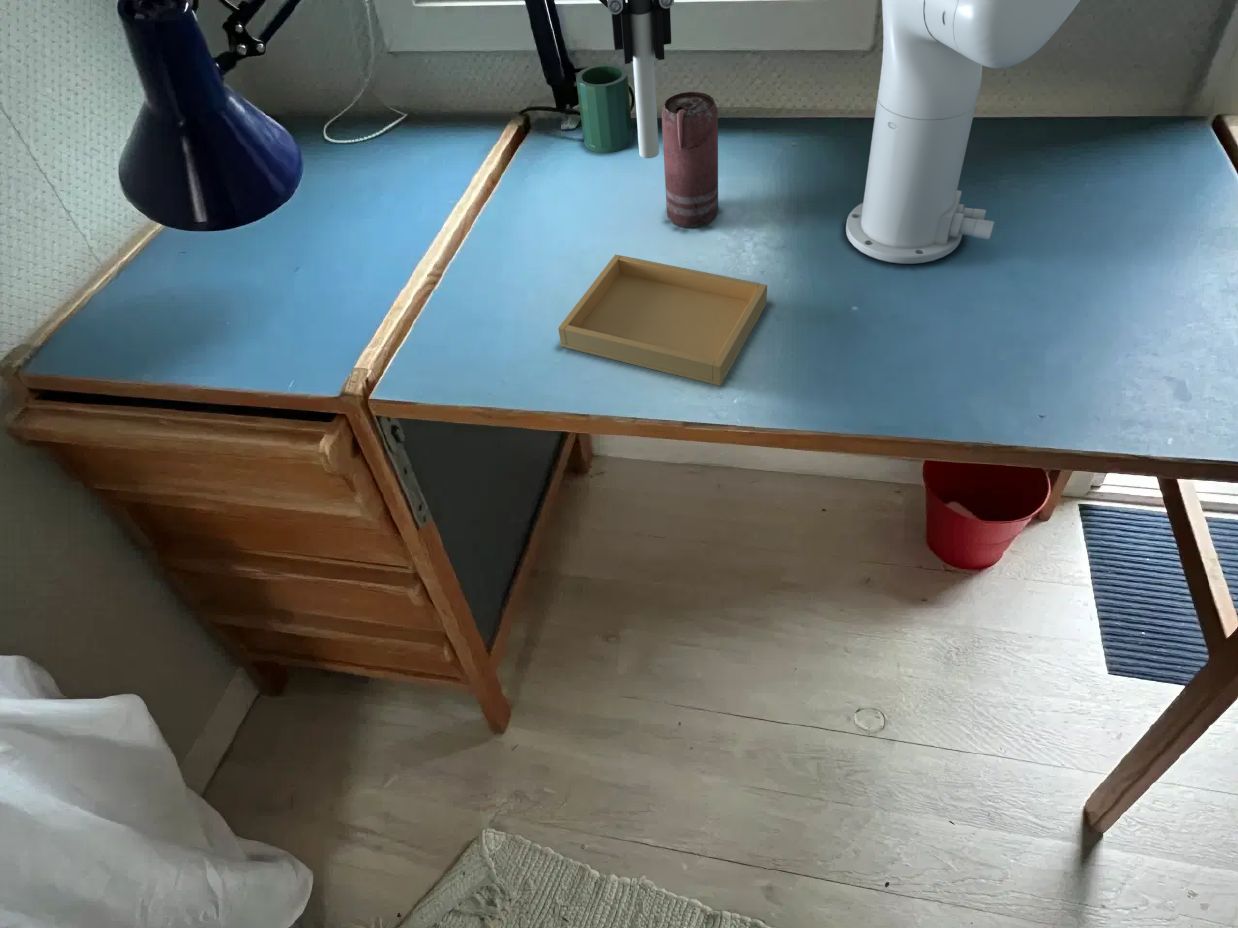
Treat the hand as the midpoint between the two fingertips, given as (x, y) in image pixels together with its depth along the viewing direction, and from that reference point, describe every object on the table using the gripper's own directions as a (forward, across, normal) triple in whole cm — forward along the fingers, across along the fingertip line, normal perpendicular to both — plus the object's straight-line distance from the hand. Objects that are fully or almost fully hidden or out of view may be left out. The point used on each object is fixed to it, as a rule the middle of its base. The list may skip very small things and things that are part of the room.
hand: (643, 53), depth 73 cm
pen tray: (+27, 0, -3) cm, 27 cm away
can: (+27, +6, +17) cm, 33 cm away
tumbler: (+27, -3, +38) cm, 47 cm away
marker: (+9, 0, 0) cm, 9 cm away
